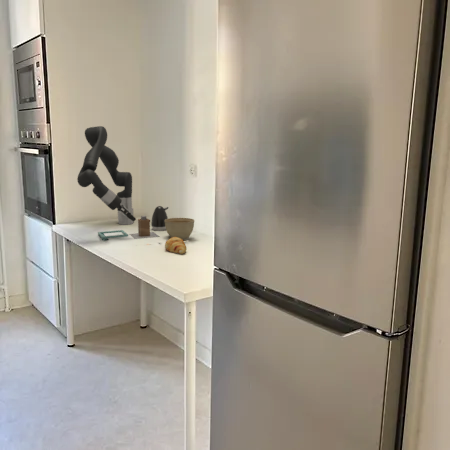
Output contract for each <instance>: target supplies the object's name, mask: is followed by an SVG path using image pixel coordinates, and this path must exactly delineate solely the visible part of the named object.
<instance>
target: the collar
mask: <svg viewBox="0 0 450 450" xmlns="http://www.w3.org/2000/svg"><path fill="white" fill-rule="evenodd" d="M137 229H138V230H137V231H138V233H139V236H141V237H142V236H150V232H151V219H149V218H147V217H146V220H141V218H138V219H137Z"/></svg>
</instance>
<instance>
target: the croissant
mask: <svg viewBox="0 0 450 450" xmlns="http://www.w3.org/2000/svg"><path fill="white" fill-rule="evenodd" d="M183 240H184V239H180V238H178V237H172V238H171V237H170V238H168V239H167V240H166V241H165V243H164V248H165V250H167V251H168V252H169V253H174V254H179V255H183V254H185V253H186V251H187V245H186V243H185V242H184V241H183Z"/></svg>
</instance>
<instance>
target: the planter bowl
mask: <svg viewBox="0 0 450 450" xmlns="http://www.w3.org/2000/svg"><path fill="white" fill-rule="evenodd" d="M165 227H166V230H165V231H166V232H167V234H168V236H169V237H170V238H172V237H178V238H180V239H182V240H183V241H186V240H188V239H189V237H190V236H191V235H192V233H193V230H194V228H195V219H194V218H189V217H170V218H168V219H165Z"/></svg>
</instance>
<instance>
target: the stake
mask: <svg viewBox="0 0 450 450" xmlns="http://www.w3.org/2000/svg"><path fill="white" fill-rule="evenodd" d="M146 218H147V215H141V216H140V219H141V220H146ZM129 235H130V236H131V237H132V238H133V239H134V240H138V239H139V240H141V239H149V238H150V239H151V238H161V237H160V236H159V235H158V234H157V233H156V232H155V231H150V236H142V237H141V236H139V233H135V232H134V233H128V236H129Z"/></svg>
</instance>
